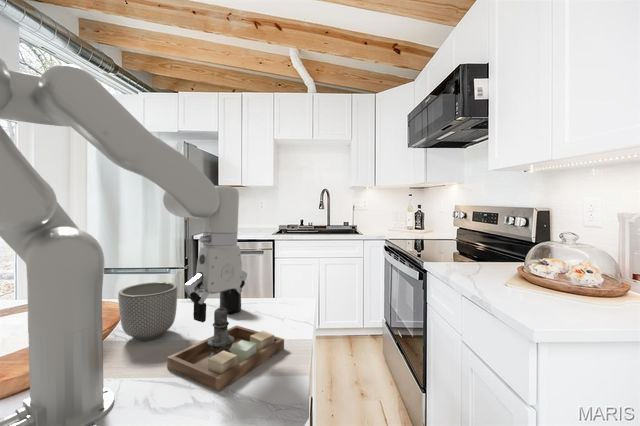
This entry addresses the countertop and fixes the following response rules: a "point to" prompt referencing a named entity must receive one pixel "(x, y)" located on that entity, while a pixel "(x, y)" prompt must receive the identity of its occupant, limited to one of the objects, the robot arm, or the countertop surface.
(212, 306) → the countertop surface
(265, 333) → the cube
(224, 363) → the cube
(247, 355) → the cube
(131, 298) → the planter
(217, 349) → the salt shaker
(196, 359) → the tray
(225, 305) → the supplement bottle
